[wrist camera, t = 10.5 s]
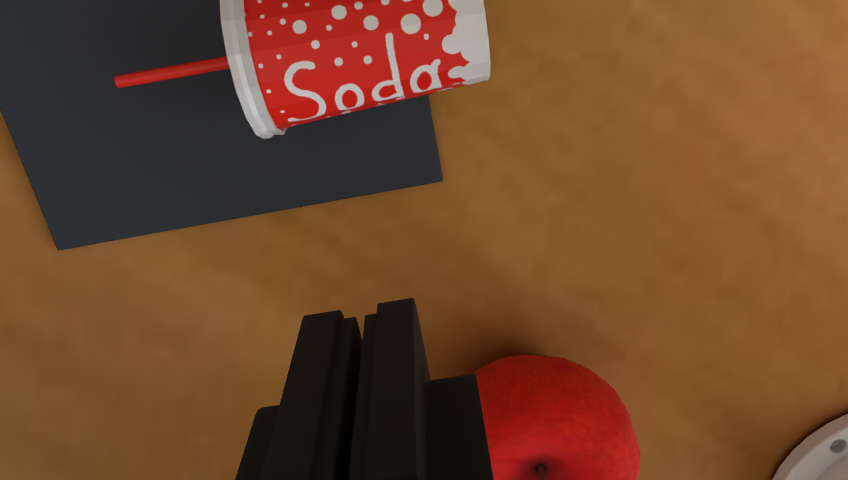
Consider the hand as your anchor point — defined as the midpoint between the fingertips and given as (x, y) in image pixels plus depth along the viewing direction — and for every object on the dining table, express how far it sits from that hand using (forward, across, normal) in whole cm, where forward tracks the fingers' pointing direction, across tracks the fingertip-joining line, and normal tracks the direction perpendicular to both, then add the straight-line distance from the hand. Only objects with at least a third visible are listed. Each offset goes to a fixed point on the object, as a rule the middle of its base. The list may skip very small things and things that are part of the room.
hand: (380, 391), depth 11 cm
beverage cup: (+20, -4, -3) cm, 20 cm away
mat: (+23, +8, -3) cm, 24 cm away
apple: (+23, -3, +16) cm, 29 cm away
